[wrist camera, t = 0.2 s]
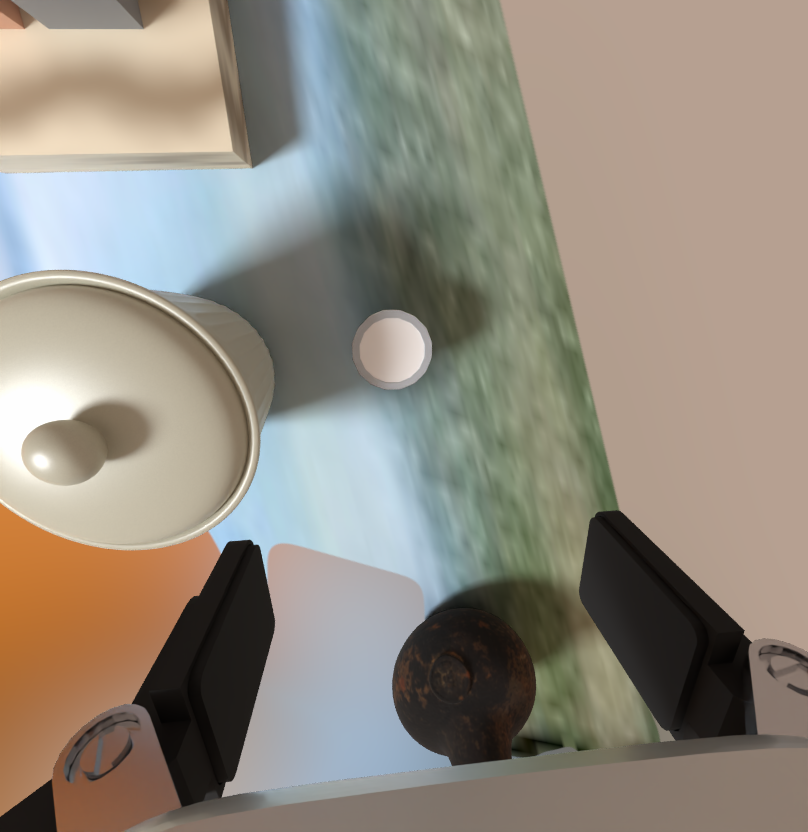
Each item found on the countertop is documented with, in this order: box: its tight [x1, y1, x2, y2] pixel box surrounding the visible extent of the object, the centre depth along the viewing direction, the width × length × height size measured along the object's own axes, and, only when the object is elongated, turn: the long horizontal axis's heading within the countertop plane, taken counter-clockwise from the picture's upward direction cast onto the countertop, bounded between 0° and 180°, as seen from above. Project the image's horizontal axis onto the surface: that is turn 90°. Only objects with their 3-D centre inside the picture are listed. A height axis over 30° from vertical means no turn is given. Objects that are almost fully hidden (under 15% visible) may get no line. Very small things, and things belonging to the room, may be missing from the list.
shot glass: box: [352, 310, 432, 390], centre depth 36 cm, size 7×7×7 cm
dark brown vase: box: [392, 608, 536, 766], centre depth 41 cm, size 18×18×28 cm
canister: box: [0, 270, 275, 550], centre depth 29 cm, size 18×18×21 cm
